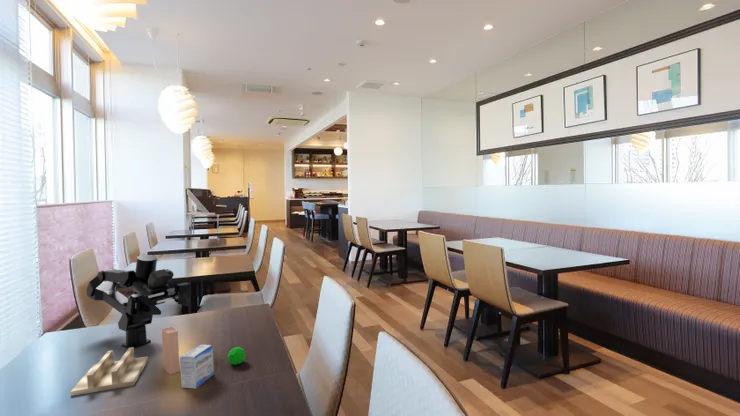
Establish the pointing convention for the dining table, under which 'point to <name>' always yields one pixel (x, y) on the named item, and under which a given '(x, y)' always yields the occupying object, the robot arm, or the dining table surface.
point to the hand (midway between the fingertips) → (175, 308)
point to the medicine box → (196, 366)
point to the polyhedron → (236, 356)
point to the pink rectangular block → (170, 350)
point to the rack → (111, 373)
